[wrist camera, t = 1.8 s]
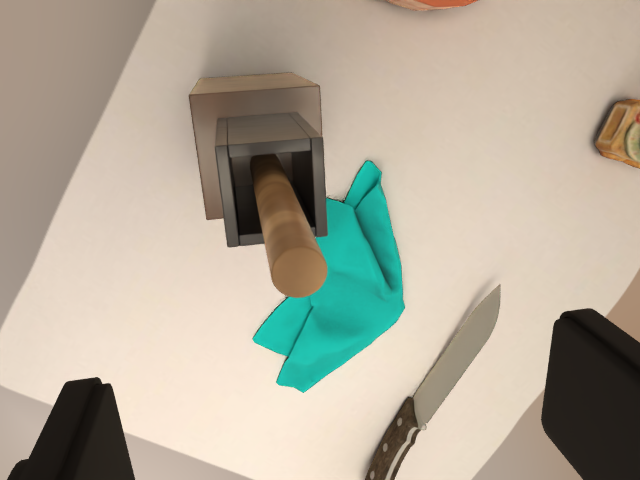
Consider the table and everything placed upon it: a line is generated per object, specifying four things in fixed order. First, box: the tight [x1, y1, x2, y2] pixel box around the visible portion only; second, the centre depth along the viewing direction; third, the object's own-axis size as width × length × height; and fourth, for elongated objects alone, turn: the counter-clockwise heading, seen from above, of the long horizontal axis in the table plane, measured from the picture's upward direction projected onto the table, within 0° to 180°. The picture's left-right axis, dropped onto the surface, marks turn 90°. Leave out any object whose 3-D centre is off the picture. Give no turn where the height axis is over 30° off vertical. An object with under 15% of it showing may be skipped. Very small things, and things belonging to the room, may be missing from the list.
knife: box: [365, 285, 500, 480], centre depth 57 cm, size 6×2×30 cm
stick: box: [250, 154, 327, 298], centre depth 24 cm, size 2×2×18 cm
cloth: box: [253, 161, 405, 393], centre depth 52 cm, size 26×14×2 cm, turn 151°
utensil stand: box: [189, 72, 328, 247], centre depth 35 cm, size 8×8×23 cm
